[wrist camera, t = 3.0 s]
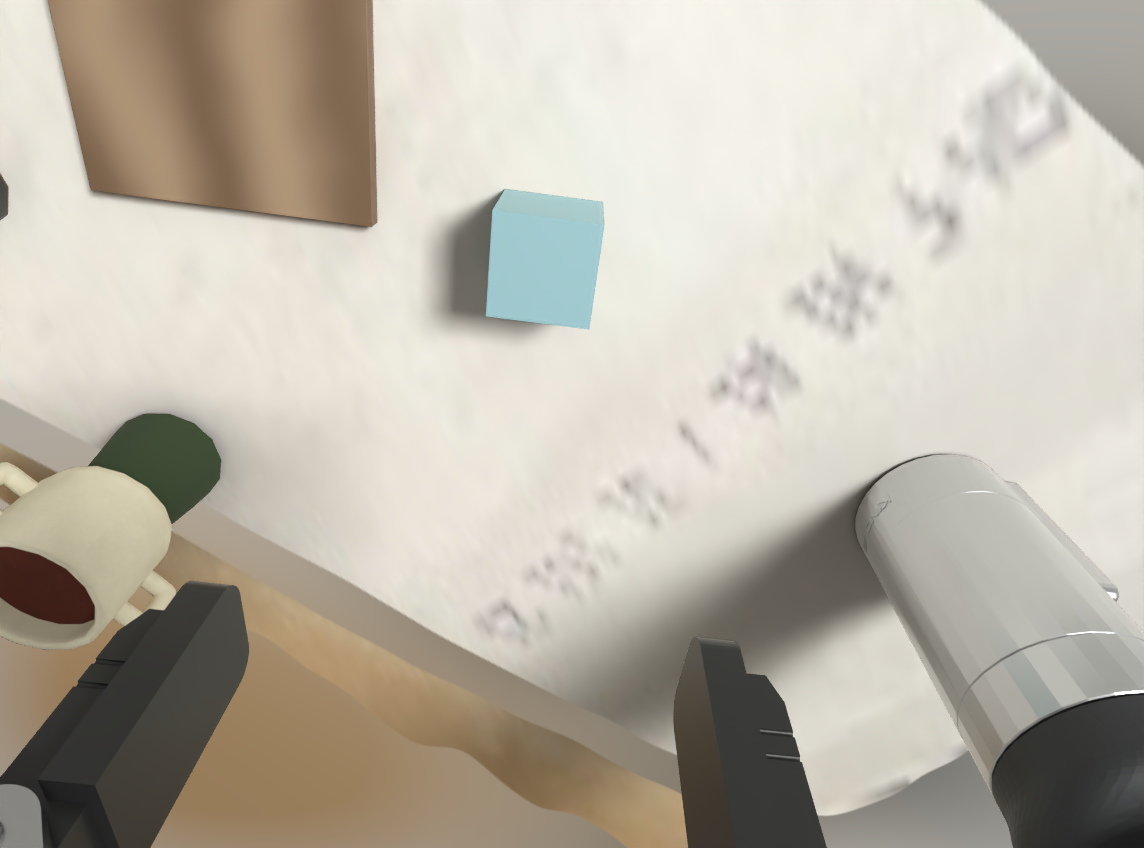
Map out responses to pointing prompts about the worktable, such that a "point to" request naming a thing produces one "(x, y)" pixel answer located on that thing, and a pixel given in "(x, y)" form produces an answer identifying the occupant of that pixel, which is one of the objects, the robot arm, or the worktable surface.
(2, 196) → the wooden tabletop sculpture
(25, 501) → the character mug
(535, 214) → the teal cube
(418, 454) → the worktable surface
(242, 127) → the walnut board
